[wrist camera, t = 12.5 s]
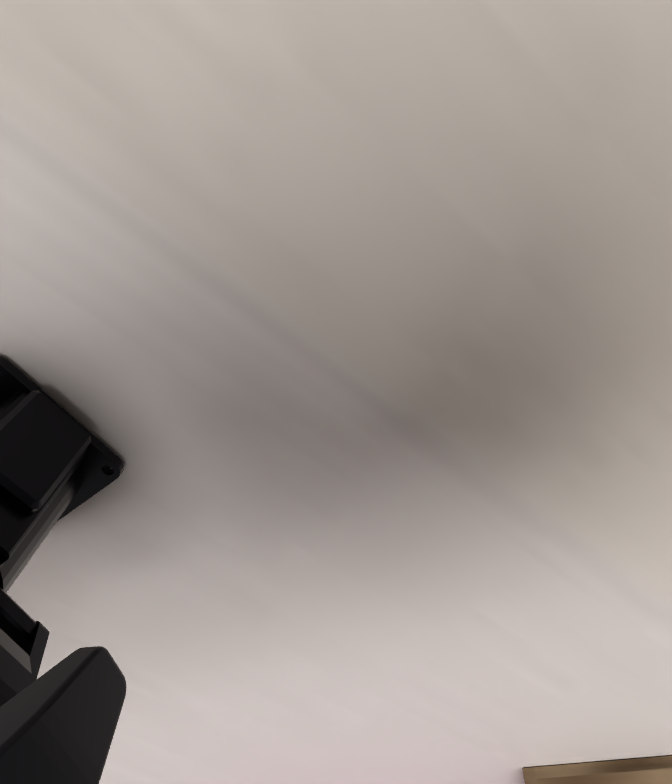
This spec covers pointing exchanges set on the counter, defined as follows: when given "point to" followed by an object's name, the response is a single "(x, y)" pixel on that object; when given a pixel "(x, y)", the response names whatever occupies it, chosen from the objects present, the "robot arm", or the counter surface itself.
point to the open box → (604, 772)
